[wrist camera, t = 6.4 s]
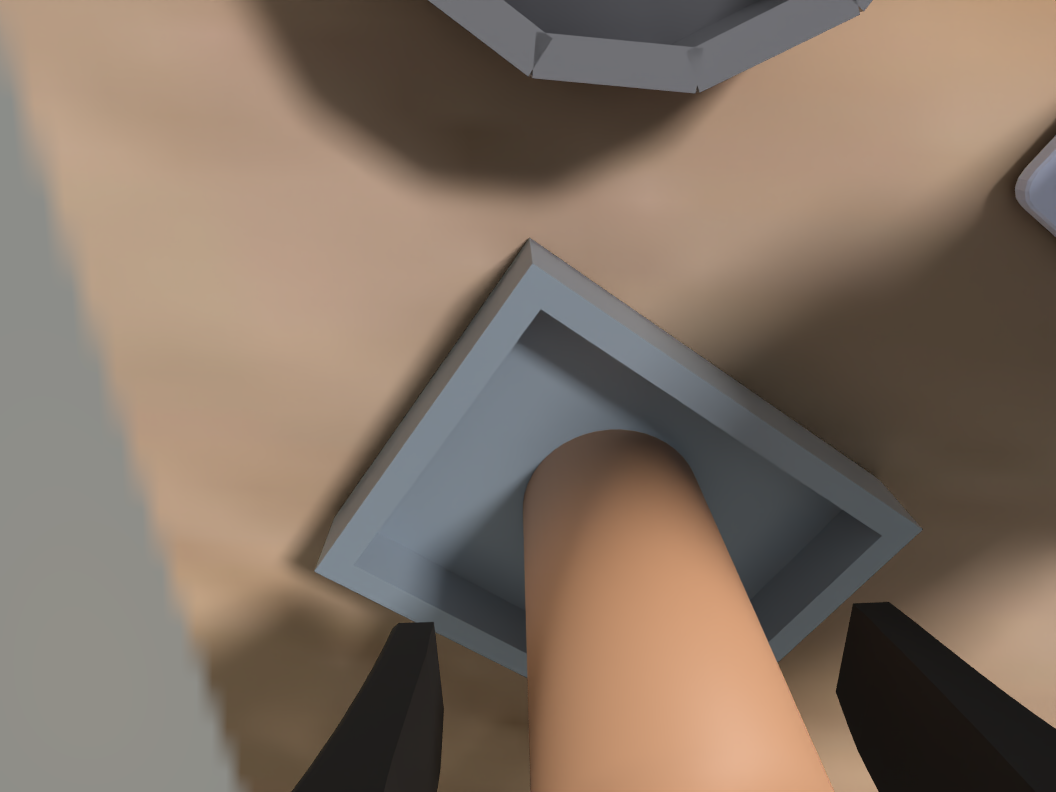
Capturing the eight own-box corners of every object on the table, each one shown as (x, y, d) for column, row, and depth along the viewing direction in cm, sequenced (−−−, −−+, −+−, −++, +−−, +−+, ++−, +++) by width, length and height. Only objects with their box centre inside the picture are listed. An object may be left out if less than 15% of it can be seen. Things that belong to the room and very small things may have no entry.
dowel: (735, 486, 16) (915, 826, 9) (627, 604, 18) (709, 982, 10) (592, 396, 15) (665, 698, 8) (488, 528, 17) (472, 890, 9)
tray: (878, 479, 17) (923, 529, 15) (662, 689, 20) (678, 753, 18) (529, 237, 15) (532, 263, 13) (334, 517, 17) (314, 571, 15)
